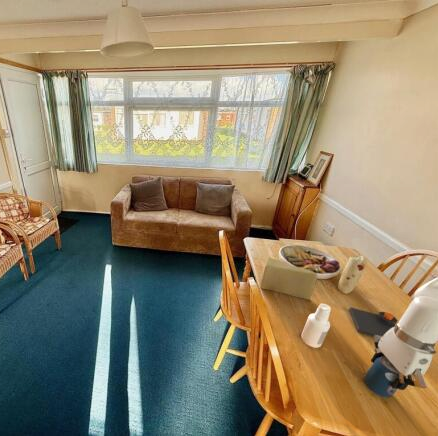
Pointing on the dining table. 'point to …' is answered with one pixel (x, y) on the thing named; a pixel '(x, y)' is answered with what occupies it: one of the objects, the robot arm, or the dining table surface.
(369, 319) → the scale
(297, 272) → the cheese
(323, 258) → the bowl
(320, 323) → the white bottle
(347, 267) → the food model
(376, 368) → the soda can
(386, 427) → the dining table surface
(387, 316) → the tare button
